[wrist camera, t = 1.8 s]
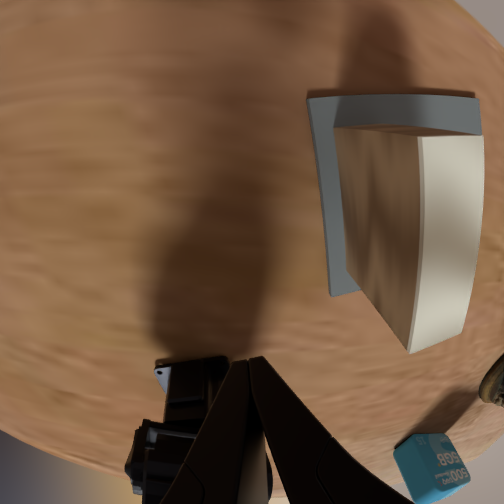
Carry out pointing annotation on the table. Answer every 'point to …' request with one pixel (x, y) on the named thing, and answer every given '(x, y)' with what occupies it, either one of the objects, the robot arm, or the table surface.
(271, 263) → the table surface
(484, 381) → the owl figurine
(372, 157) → the slab
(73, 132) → the table surface
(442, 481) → the data package
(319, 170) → the mat
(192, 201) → the table surface
